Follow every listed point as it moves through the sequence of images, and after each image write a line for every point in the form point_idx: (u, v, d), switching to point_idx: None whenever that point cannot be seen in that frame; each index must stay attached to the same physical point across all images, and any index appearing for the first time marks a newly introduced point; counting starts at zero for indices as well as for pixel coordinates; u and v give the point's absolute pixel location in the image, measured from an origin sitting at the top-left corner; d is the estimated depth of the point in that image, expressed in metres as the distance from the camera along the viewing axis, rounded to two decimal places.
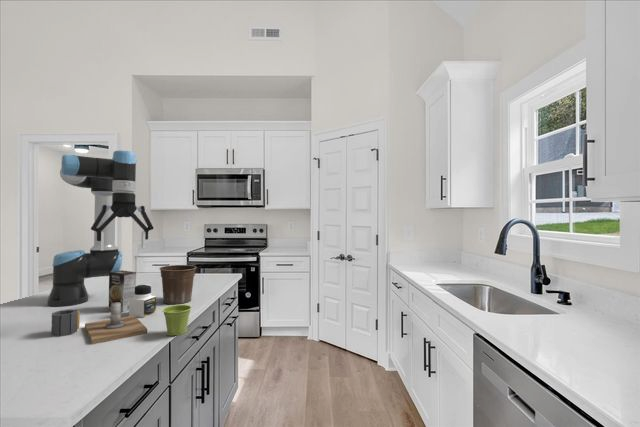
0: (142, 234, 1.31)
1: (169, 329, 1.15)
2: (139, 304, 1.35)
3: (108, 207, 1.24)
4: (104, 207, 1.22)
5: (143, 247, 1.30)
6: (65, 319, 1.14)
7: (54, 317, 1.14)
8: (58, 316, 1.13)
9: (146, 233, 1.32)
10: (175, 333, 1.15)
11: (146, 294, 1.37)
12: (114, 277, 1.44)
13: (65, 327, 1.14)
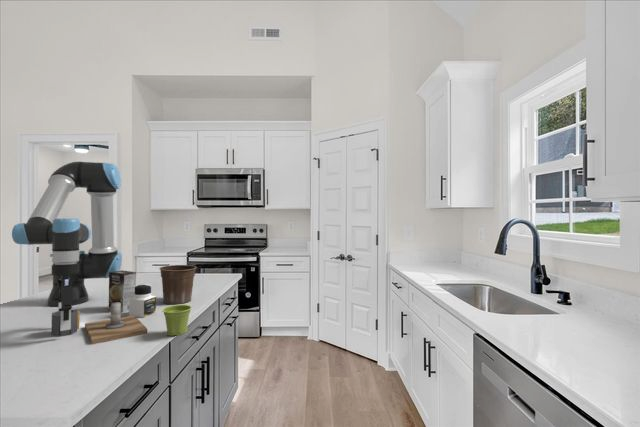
0: None
1: (169, 329, 1.15)
2: (139, 304, 1.35)
3: None
4: (59, 277, 1.21)
5: (60, 329, 1.11)
6: None
7: (54, 317, 1.14)
8: (58, 316, 1.13)
9: (63, 313, 1.10)
10: (175, 333, 1.15)
11: (146, 294, 1.37)
12: (114, 277, 1.44)
13: None
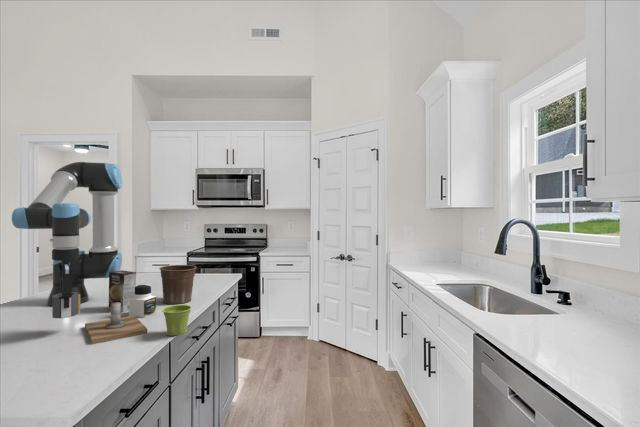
0: None
1: (169, 329, 1.15)
2: (139, 304, 1.35)
3: None
4: (60, 265, 1.21)
5: (61, 316, 1.14)
6: None
7: (55, 299, 1.14)
8: None
9: (63, 301, 1.13)
10: (175, 333, 1.15)
11: (146, 294, 1.37)
12: (114, 277, 1.44)
13: None
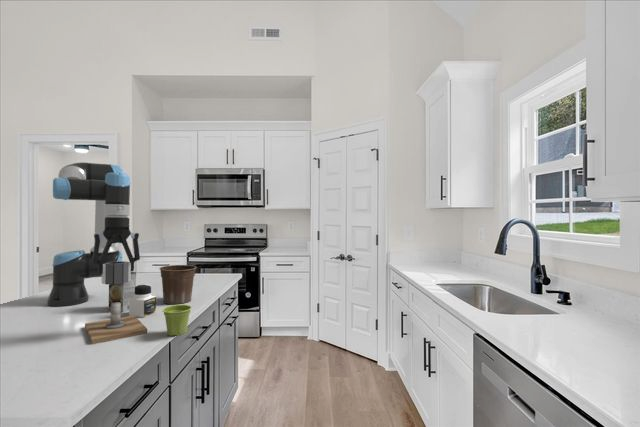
0: None
1: (169, 329, 1.15)
2: (139, 304, 1.35)
3: (100, 235, 1.16)
4: (96, 236, 1.15)
5: (128, 280, 1.21)
6: None
7: (124, 265, 1.19)
8: (127, 263, 1.20)
9: (132, 264, 1.22)
10: (175, 333, 1.15)
11: (146, 294, 1.37)
12: None
13: None
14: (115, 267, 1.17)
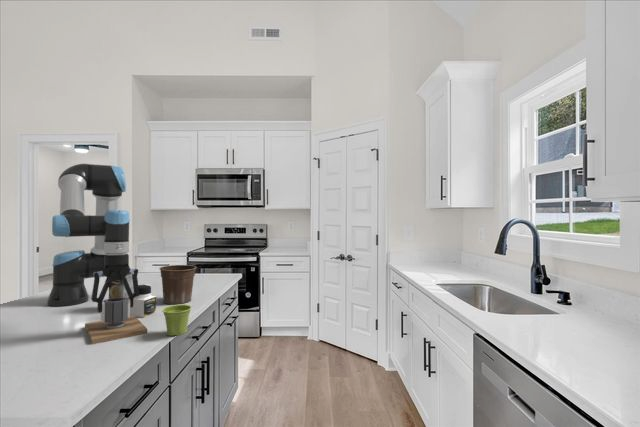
0: None
1: (169, 329, 1.15)
2: (139, 304, 1.35)
3: (100, 273, 1.16)
4: (96, 275, 1.15)
5: (128, 316, 1.21)
6: None
7: (124, 302, 1.19)
8: (127, 300, 1.20)
9: (131, 300, 1.22)
10: (175, 333, 1.15)
11: (146, 294, 1.37)
12: None
13: None
14: (114, 305, 1.16)
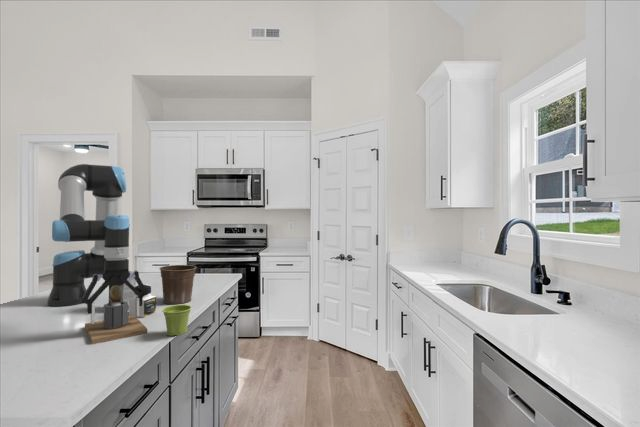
0: (136, 301, 1.24)
1: (169, 329, 1.15)
2: None
3: (99, 276, 1.16)
4: (95, 277, 1.15)
5: (137, 315, 1.23)
6: None
7: (124, 307, 1.19)
8: (126, 304, 1.20)
9: (140, 299, 1.24)
10: (175, 333, 1.15)
11: None
12: None
13: None
14: (114, 310, 1.17)
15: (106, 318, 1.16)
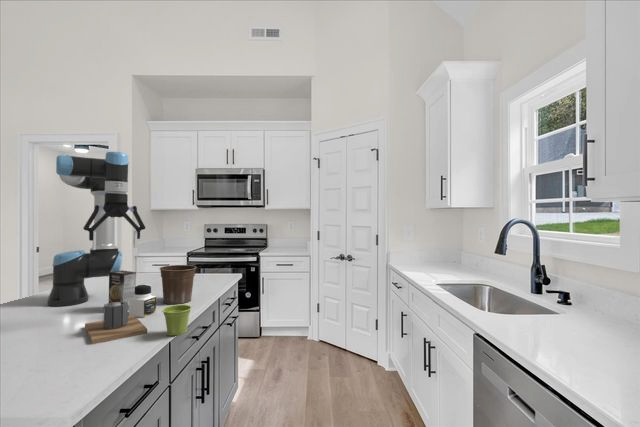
0: (134, 234, 1.34)
1: (169, 329, 1.15)
2: (139, 304, 1.35)
3: (100, 207, 1.26)
4: (96, 207, 1.25)
5: (135, 246, 1.33)
6: None
7: (124, 307, 1.19)
8: (126, 304, 1.20)
9: (138, 233, 1.34)
10: (175, 333, 1.15)
11: (146, 294, 1.37)
12: (114, 277, 1.44)
13: None
14: (114, 310, 1.17)
15: (106, 318, 1.16)
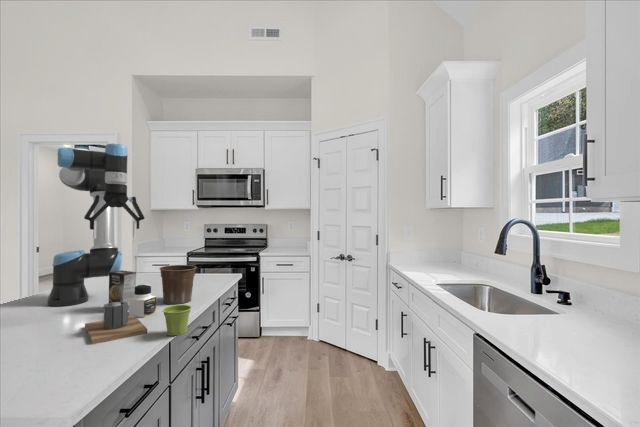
0: (133, 224, 1.37)
1: (169, 329, 1.15)
2: (139, 304, 1.35)
3: (101, 197, 1.30)
4: (97, 197, 1.29)
5: (134, 236, 1.37)
6: None
7: (124, 307, 1.19)
8: (126, 304, 1.20)
9: (137, 223, 1.38)
10: (175, 333, 1.15)
11: (146, 294, 1.37)
12: (114, 277, 1.44)
13: None
14: (114, 310, 1.17)
15: (106, 318, 1.16)
